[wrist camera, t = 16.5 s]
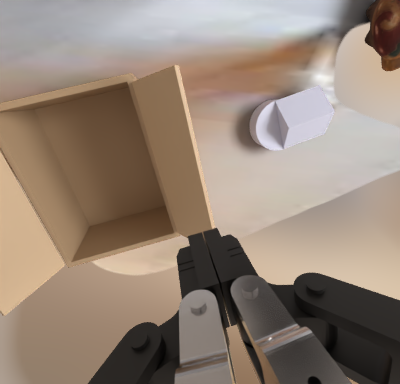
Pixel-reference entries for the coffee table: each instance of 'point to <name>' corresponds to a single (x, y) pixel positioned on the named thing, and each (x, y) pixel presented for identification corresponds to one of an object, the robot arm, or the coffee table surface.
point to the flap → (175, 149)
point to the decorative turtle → (385, 32)
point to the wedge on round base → (291, 119)
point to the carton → (88, 168)
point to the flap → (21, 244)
